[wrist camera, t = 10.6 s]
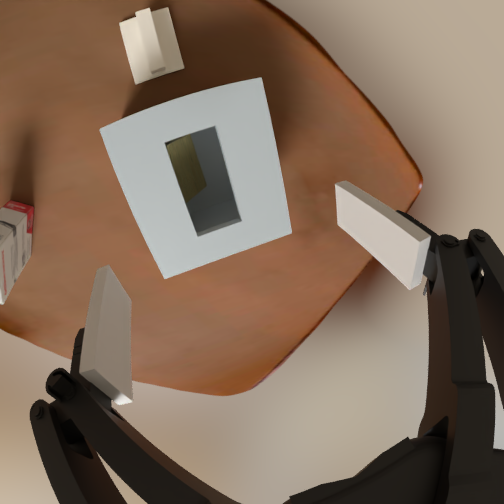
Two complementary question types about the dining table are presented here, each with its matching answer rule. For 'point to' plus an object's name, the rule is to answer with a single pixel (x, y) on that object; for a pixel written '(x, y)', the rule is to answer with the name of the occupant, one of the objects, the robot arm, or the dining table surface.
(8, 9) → the dining table surface
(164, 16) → the token stand
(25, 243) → the ink box
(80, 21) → the dining table surface
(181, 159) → the block
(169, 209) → the box
